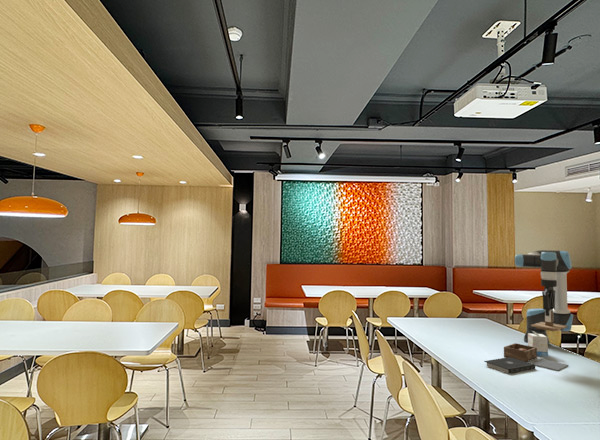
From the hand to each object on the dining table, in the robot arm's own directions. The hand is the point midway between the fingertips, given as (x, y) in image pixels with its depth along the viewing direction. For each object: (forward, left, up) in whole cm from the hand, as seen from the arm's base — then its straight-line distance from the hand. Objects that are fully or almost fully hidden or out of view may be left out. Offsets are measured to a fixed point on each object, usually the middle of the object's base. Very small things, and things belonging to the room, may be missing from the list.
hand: (549, 321), depth 214 cm
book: (+24, -11, -25) cm, 36 cm away
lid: (0, 0, -4) cm, 4 cm away
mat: (0, 0, -24) cm, 24 cm away
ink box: (-20, -13, -25) cm, 34 cm away
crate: (-2, -16, -24) cm, 29 cm away
